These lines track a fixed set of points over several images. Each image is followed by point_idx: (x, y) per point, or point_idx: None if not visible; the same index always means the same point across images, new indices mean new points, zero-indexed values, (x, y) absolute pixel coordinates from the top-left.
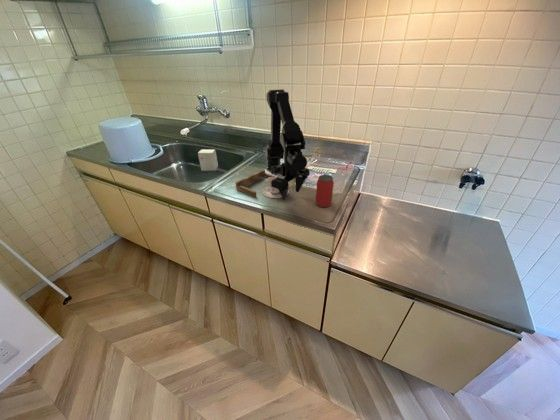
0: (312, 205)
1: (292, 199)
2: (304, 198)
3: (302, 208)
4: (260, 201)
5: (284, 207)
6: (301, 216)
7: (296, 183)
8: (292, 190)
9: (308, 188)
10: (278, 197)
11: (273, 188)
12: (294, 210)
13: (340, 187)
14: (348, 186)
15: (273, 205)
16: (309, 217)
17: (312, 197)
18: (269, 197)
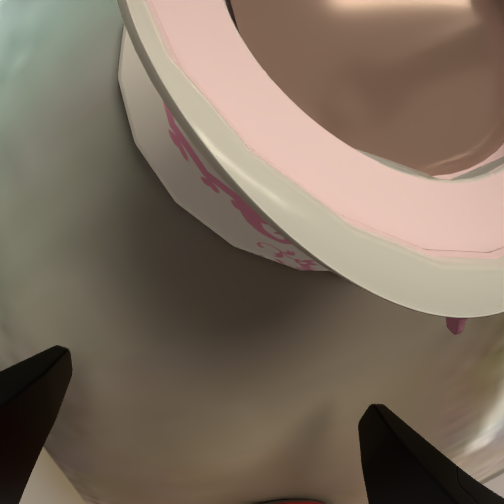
0: (227, 494)
1: (241, 368)
2: (315, 439)
3: (142, 464)
4: (11, 34)
5: (46, 349)
6: (61, 462)
7: (425, 497)
8: None
9: (498, 374)
10: (169, 189)
11: (240, 14)
12: (76, 427)
13: (486, 471)
14: (489, 480)
15: (3, 226)
16: (89, 489)
17: (353, 464)
18: (123, 54)
